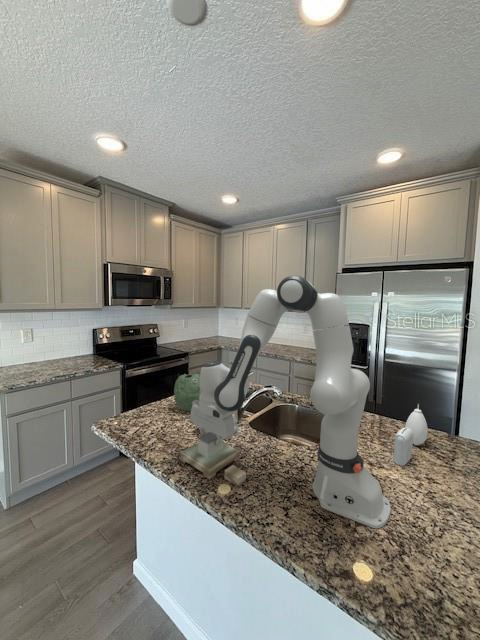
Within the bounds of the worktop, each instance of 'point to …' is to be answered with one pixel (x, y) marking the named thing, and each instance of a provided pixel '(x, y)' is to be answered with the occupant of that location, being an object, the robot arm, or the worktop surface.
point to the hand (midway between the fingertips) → (210, 441)
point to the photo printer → (403, 446)
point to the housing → (208, 445)
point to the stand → (209, 459)
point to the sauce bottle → (417, 426)
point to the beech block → (235, 475)
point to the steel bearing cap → (235, 428)
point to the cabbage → (187, 390)
